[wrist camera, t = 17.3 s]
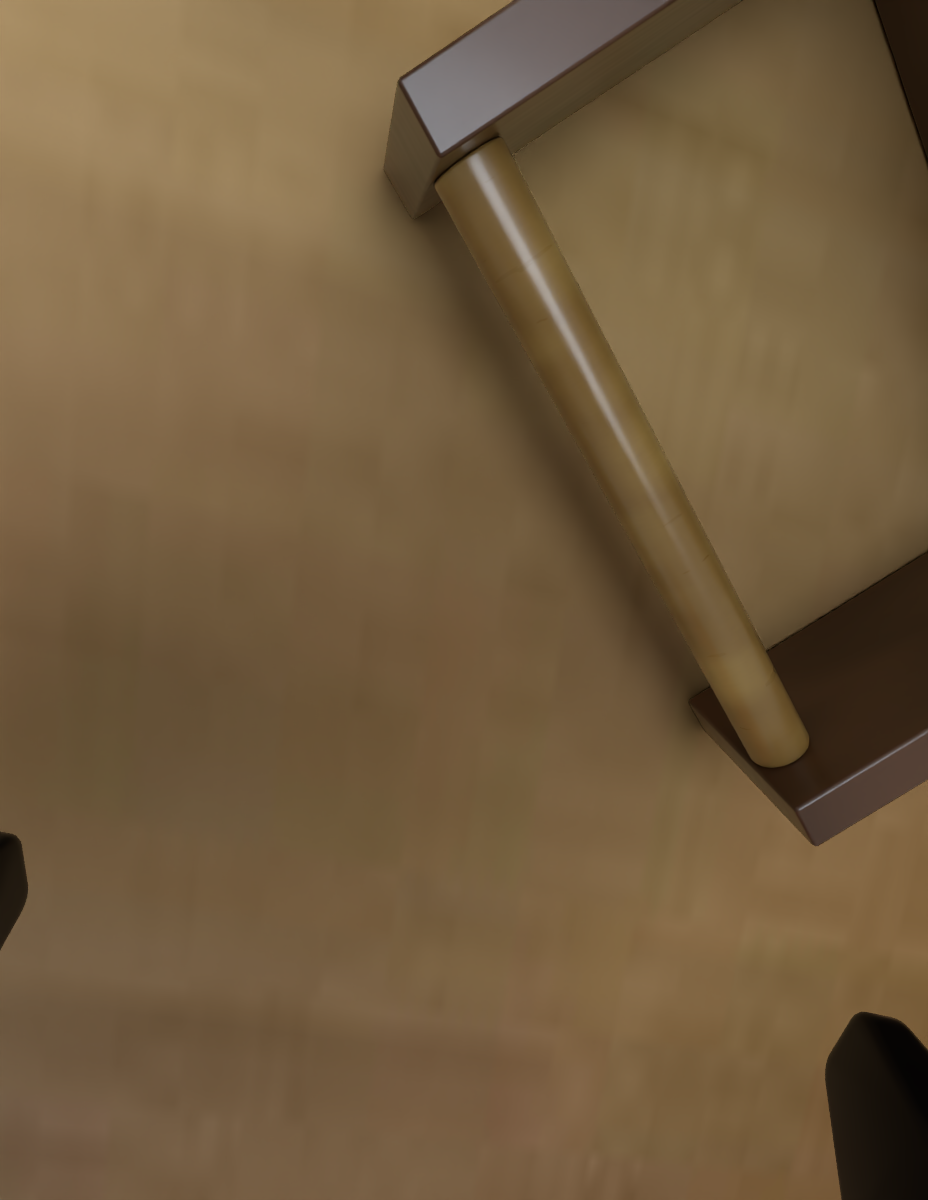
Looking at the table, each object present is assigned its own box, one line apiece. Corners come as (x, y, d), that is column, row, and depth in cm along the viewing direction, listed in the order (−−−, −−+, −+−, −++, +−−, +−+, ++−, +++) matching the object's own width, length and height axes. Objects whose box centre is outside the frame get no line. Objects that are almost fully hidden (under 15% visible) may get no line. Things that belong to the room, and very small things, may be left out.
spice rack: (704, 731, 22) (976, 1020, 12) (381, 167, 16) (422, -95, 7) (1084, 497, 21) (1678, 610, 12) (879, -168, 16) (1667, -954, 6)
